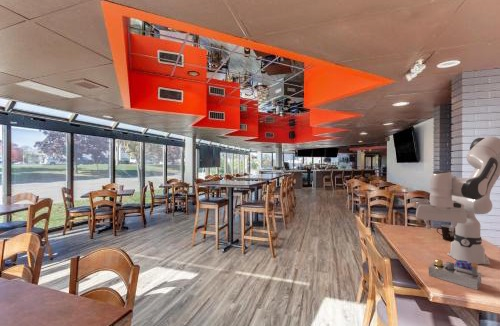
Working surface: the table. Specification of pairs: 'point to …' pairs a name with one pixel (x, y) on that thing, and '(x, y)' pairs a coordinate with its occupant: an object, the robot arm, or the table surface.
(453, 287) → the table surface
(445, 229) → the coffee mug
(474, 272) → the slider
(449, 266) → the button slate
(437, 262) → the button brass
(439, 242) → the table surface
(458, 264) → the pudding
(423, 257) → the table surface
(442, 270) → the panel
